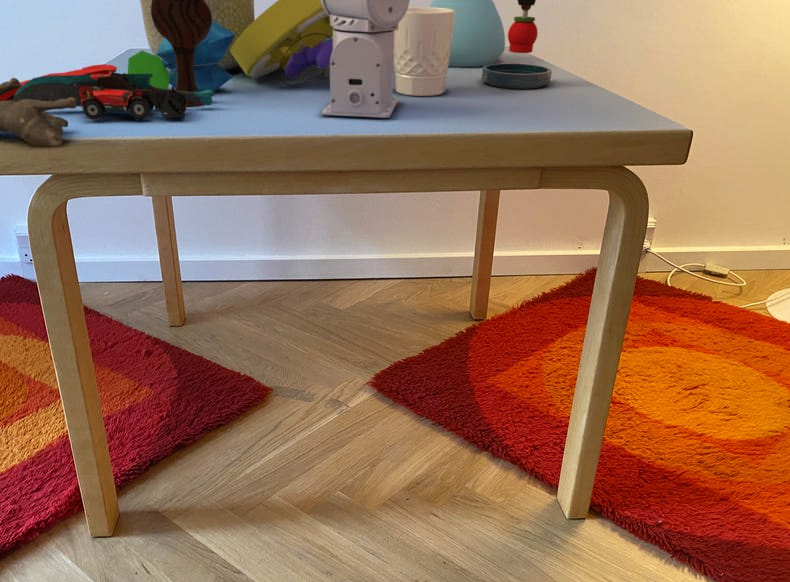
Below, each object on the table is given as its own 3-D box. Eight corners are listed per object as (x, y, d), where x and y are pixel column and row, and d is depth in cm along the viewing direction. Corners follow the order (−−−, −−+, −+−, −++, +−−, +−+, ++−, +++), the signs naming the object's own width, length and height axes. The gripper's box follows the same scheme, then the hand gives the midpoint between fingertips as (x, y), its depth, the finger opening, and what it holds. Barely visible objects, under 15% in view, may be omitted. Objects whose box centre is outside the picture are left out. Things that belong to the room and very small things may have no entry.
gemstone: (158, 108, 91) (139, 121, 95) (177, 73, 93) (158, 87, 97) (118, 75, 87) (100, 91, 92) (139, 40, 89) (120, 57, 94)
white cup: (401, 98, 91) (405, 13, 86) (383, 87, 98) (385, 7, 93) (457, 95, 93) (464, 12, 88) (436, 85, 100) (441, 6, 94)
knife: (211, 74, 82) (216, 109, 86) (211, 68, 82) (216, 103, 86) (-8, 78, 79) (8, 114, 83) (-7, 72, 79) (9, 108, 84)
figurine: (224, 99, 90) (210, -64, 81) (213, 107, 86) (198, -64, 77) (168, 97, 91) (148, -65, 81) (155, 105, 87) (132, -65, 77)
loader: (187, 110, 83) (182, 68, 81) (182, 119, 79) (177, 75, 77) (84, 111, 83) (76, 69, 80) (73, 121, 79) (65, 76, 76)
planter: (209, 82, 99) (197, -43, 91) (124, 70, 107) (107, -46, 99) (280, 65, 112) (275, -46, 104) (200, 56, 119) (190, -48, 111)
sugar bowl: (504, 69, 111) (513, -13, 105) (410, 66, 113) (413, -15, 107) (502, 55, 124) (510, -19, 118) (417, 53, 126) (420, -21, 120)
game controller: (258, 54, 96) (307, 32, 102) (281, 112, 100) (327, 88, 105) (303, 37, 89) (353, 14, 94) (327, 101, 93) (374, 75, 98)
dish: (551, 91, 96) (553, 75, 95) (481, 88, 98) (482, 73, 97) (547, 78, 105) (549, 64, 104) (482, 76, 106) (483, 62, 105)
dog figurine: (6, 118, 78) (-36, 160, 73) (-18, 70, 73) (-64, 112, 69) (100, 137, 75) (62, 181, 71) (81, 88, 70) (39, 133, 66)
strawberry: (535, 54, 96) (547, -37, 91) (506, 53, 97) (516, -38, 91) (534, 49, 100) (545, -38, 94) (505, 49, 100) (515, -39, 95)
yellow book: (262, 50, 112) (281, 78, 113) (213, 56, 94) (236, 89, 95) (343, -20, 105) (362, 10, 107) (307, -28, 87) (331, 8, 88)
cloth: (146, 57, 102) (150, 74, 103) (58, 70, 104) (63, 86, 105) (69, 78, 79) (76, 99, 80) (-42, 94, 81) (-34, 114, 82)
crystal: (155, 29, 95) (238, 8, 92) (177, 95, 99) (257, 77, 97) (135, 36, 88) (224, 14, 86) (159, 106, 93) (244, 87, 90)
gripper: (579, -120, 82) (560, 10, 89) (568, -114, 94) (552, 0, 101) (517, -120, 83) (503, 8, 90) (514, -113, 95) (502, -1, 102)
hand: (525, 4), depth 95 cm, fingers closed on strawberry
